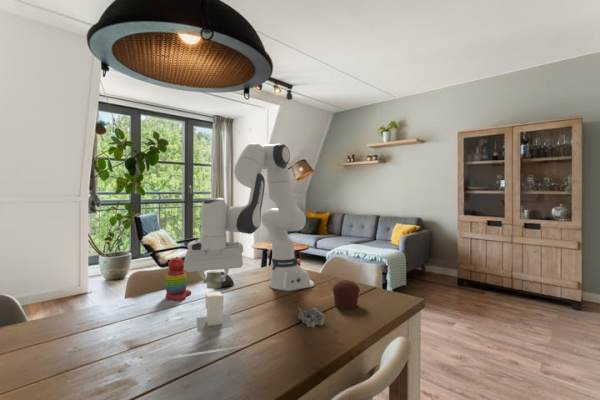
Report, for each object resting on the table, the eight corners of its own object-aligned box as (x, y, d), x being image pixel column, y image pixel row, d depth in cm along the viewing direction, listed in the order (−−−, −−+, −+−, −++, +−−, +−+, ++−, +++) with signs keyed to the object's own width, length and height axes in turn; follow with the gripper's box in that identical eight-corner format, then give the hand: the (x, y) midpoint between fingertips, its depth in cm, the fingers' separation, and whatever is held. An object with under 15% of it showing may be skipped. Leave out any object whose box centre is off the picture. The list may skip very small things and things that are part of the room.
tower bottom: (221, 318, 116) (221, 305, 116) (222, 323, 112) (222, 309, 112) (207, 320, 115) (206, 306, 115) (207, 325, 110) (207, 311, 110)
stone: (226, 289, 165) (211, 277, 163) (237, 278, 164) (222, 266, 163) (222, 299, 155) (207, 286, 154) (234, 287, 155) (219, 273, 153)
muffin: (350, 299, 139) (351, 276, 139) (365, 307, 129) (365, 283, 128) (327, 303, 134) (327, 279, 134) (340, 312, 124) (340, 286, 124)
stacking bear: (183, 300, 137) (183, 260, 137) (160, 300, 137) (159, 260, 137) (192, 293, 148) (192, 255, 148) (171, 292, 148) (170, 255, 148)
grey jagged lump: (296, 318, 119) (296, 307, 119) (314, 314, 122) (314, 304, 122) (307, 329, 109) (307, 317, 109) (327, 325, 112) (326, 314, 112)
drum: (220, 284, 116) (220, 270, 116) (221, 287, 111) (221, 273, 111) (206, 285, 114) (206, 271, 114) (207, 289, 110) (207, 275, 109)
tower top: (219, 304, 116) (219, 291, 116) (223, 309, 112) (223, 295, 112) (205, 307, 114) (205, 293, 114) (209, 311, 110) (209, 297, 110)
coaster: (229, 315, 121) (229, 313, 121) (233, 328, 109) (233, 326, 109) (196, 319, 117) (196, 318, 117) (197, 333, 106) (197, 331, 106)
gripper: (241, 240, 119) (241, 277, 119) (183, 243, 112) (184, 282, 112) (244, 243, 113) (244, 281, 113) (183, 246, 106) (183, 287, 107)
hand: (214, 281), depth 113 cm, fingers closed on drum, 5 cm apart
